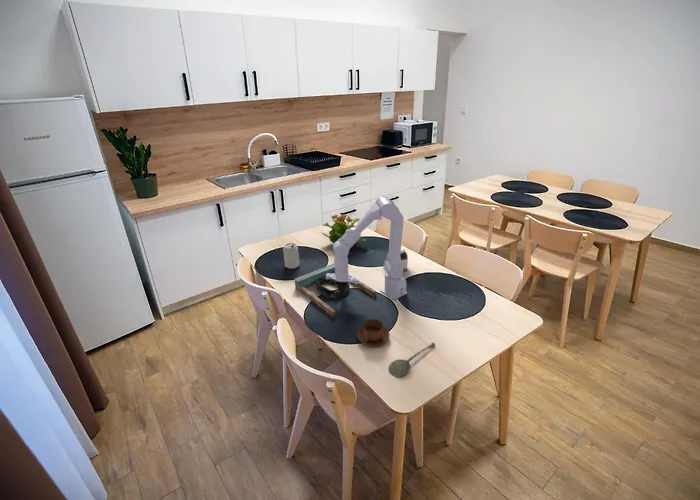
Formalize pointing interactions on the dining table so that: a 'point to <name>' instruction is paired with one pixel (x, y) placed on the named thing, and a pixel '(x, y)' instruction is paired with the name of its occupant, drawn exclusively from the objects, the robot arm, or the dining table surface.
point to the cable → (327, 292)
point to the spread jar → (402, 258)
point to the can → (291, 255)
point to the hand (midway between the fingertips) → (342, 294)
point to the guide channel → (310, 278)
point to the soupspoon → (403, 364)
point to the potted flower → (340, 227)
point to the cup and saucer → (373, 333)
